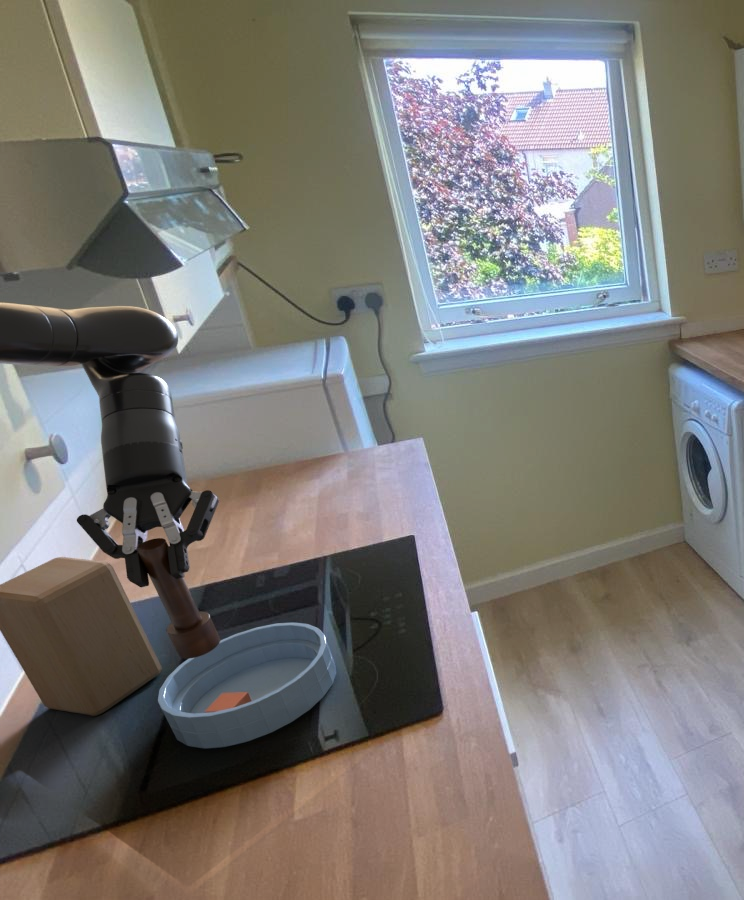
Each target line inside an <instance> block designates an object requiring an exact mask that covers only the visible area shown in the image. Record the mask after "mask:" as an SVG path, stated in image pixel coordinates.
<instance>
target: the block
mask: <svg viewBox="0 0 744 900" xmlns="http://www.w3.org/2000/svg"><path fill="white" fill-rule="evenodd" d="M249 702H251V698H250V696H249V694H248V692H238V693H222V694H221V695H220V696H219V697H218V698H217V699H216V700H215V701H214V702H213V703H212V704H211V705H210V706H209V707H208V708H207V709H206V710H205V713H210V712H216V711H221V710H225V709H230V708H234V707H237V706H240V705H243V704H246V703H249Z"/></svg>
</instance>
